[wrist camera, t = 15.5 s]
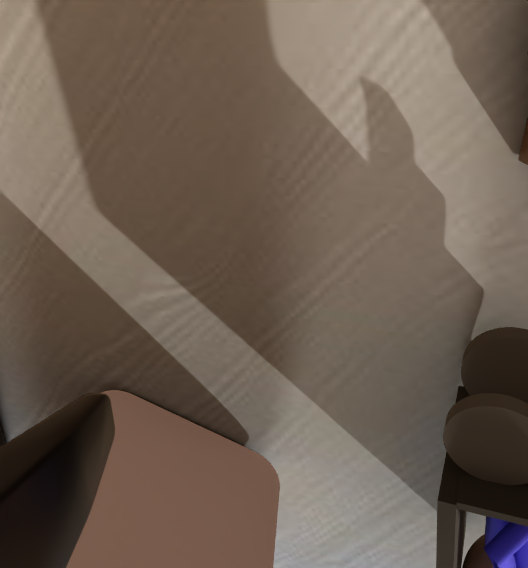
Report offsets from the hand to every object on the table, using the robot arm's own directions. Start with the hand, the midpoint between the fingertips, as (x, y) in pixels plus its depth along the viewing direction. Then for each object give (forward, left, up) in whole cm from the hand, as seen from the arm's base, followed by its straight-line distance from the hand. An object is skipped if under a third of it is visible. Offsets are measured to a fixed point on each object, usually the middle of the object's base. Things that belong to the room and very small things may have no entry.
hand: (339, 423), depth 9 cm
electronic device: (-7, -13, -12) cm, 18 cm away
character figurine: (+8, -11, -12) cm, 18 cm away
